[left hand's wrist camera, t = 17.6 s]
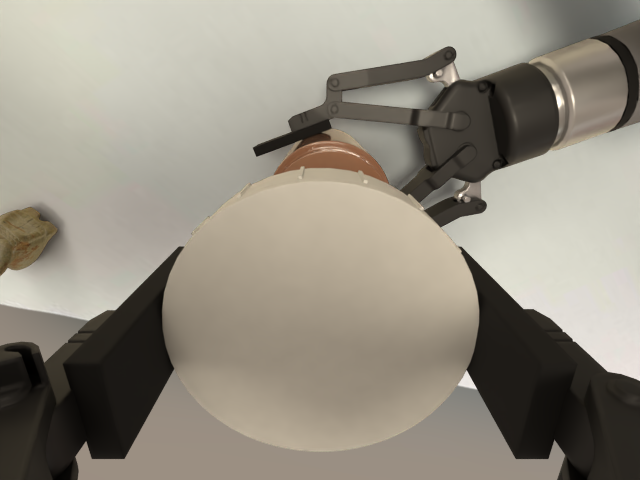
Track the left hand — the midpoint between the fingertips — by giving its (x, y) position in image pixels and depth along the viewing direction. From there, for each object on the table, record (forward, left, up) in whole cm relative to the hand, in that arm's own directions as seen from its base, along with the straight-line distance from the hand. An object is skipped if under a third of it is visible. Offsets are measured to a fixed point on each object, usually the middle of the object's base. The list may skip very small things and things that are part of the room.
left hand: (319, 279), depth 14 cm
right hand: (-3, -2, -19) cm, 19 cm away
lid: (0, 0, +3) cm, 3 cm away
